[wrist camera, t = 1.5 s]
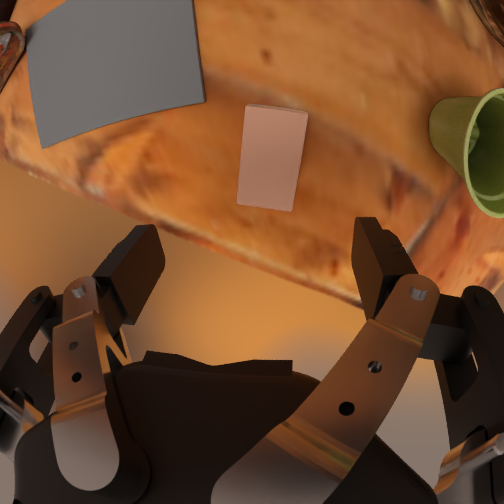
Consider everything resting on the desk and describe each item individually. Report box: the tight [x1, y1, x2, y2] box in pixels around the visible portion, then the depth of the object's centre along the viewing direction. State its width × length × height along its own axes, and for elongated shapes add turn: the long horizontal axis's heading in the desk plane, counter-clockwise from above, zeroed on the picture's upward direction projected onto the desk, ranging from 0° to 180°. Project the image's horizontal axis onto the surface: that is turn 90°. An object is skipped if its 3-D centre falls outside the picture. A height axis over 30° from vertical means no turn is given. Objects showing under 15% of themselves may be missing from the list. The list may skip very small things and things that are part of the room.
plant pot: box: [429, 88, 504, 218], centre depth 15 cm, size 9×9×9 cm
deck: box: [237, 104, 308, 212], centre depth 21 cm, size 4×8×3 cm, turn 174°
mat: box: [26, 0, 206, 149], centre depth 17 cm, size 20×16×1 cm
